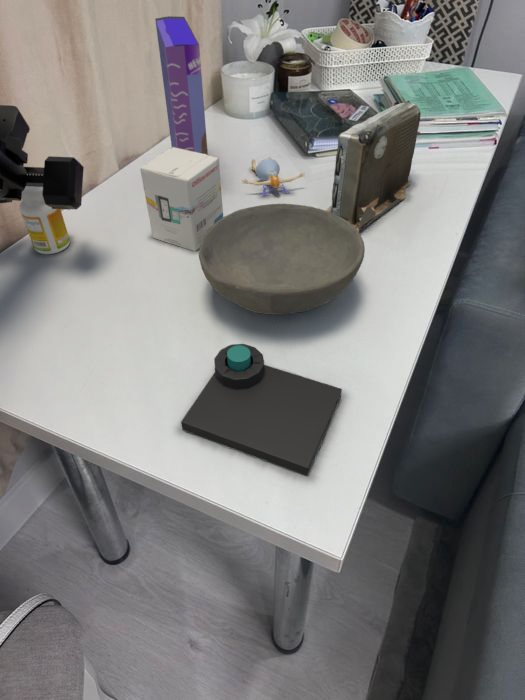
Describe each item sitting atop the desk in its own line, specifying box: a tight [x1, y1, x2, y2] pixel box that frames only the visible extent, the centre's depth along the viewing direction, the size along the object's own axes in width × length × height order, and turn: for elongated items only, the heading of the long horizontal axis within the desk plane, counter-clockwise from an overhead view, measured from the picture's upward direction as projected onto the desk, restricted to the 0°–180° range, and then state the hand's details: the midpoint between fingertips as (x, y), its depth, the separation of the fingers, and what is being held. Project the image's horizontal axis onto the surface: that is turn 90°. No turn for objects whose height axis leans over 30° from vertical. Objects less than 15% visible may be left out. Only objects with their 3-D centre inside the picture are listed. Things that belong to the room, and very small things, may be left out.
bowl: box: [198, 203, 366, 315], centre depth 68 cm, size 21×21×8 cm
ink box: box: [139, 146, 224, 252], centre depth 78 cm, size 8×8×12 cm
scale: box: [180, 343, 343, 477], centre depth 55 cm, size 14×12×3 cm
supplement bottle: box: [19, 186, 71, 255], centre depth 76 cm, size 5×5×10 cm
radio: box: [325, 100, 421, 232], centre depth 84 cm, size 23×9×15 cm, turn 137°
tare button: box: [227, 345, 251, 371], centre depth 57 cm, size 3×3×2 cm
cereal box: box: [155, 15, 209, 155], centre depth 87 cm, size 17×5×24 cm, turn 13°
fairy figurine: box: [242, 156, 305, 198], centre depth 93 cm, size 12×5×12 cm
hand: (41, 199), depth 75 cm, fingers open, 9 cm apart
